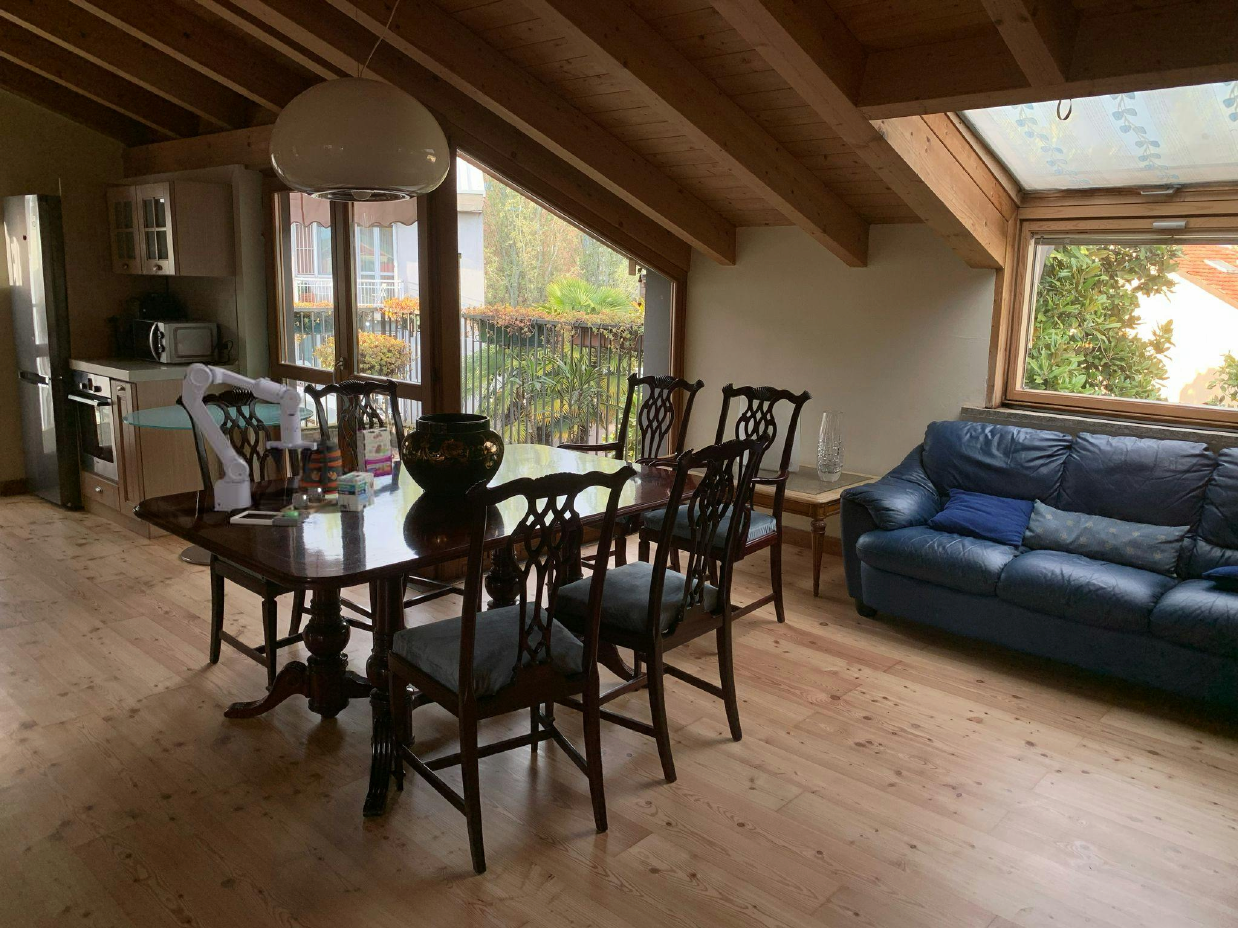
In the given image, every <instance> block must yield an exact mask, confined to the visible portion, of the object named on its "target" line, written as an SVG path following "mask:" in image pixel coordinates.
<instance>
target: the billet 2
mask: <svg viewBox="0 0 1238 928" xmlns="http://www.w3.org/2000/svg"><path fill="white" fill-rule="evenodd" d="M307 497H308V500H309V503H323V498H324V497H323V495H322V487H320V486H312V487H308V495H307Z"/></svg>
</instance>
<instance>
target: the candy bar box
mask: <svg viewBox="0 0 1238 928" xmlns="http://www.w3.org/2000/svg"><path fill="white" fill-rule="evenodd" d="M356 442H357V444H356V446H357V448H356V449H357V463H358V466H357V467H358V472H366V473H374V478H378V477H383V476H385V477H386V476H390V475H393V456H392V455H393V452H392V432H391V428H389V427H379V428H370V429H363V430H356Z"/></svg>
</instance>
